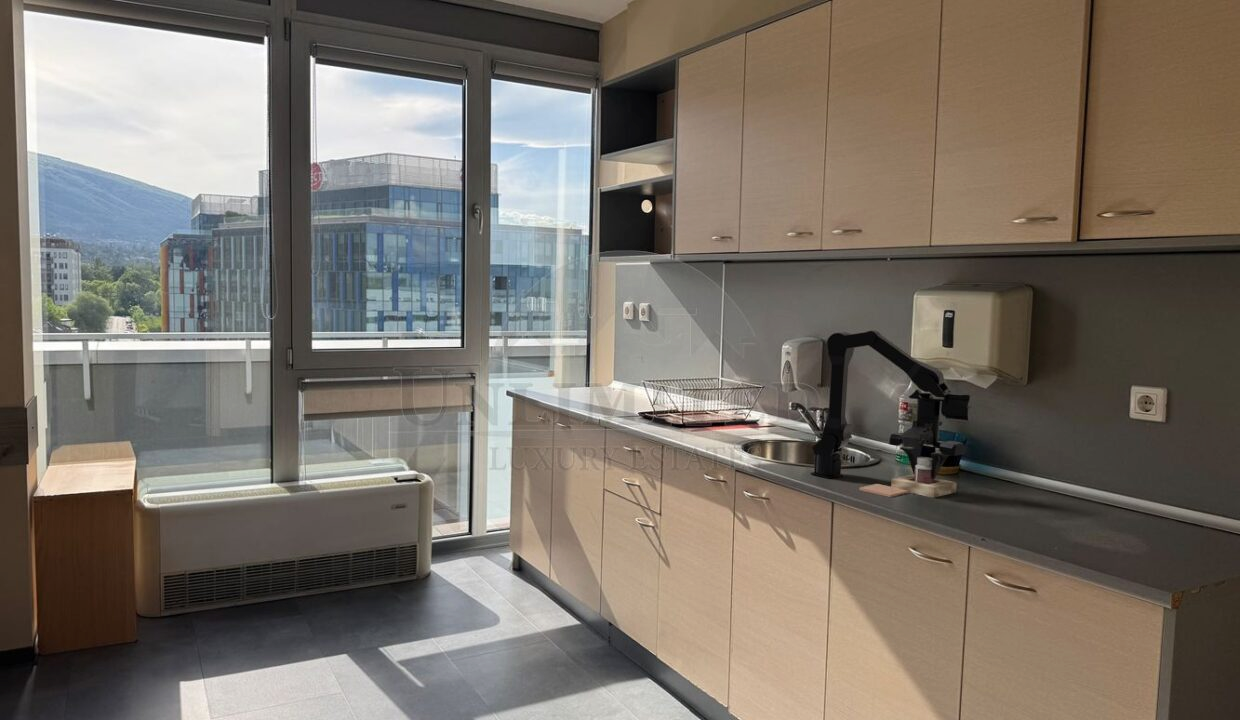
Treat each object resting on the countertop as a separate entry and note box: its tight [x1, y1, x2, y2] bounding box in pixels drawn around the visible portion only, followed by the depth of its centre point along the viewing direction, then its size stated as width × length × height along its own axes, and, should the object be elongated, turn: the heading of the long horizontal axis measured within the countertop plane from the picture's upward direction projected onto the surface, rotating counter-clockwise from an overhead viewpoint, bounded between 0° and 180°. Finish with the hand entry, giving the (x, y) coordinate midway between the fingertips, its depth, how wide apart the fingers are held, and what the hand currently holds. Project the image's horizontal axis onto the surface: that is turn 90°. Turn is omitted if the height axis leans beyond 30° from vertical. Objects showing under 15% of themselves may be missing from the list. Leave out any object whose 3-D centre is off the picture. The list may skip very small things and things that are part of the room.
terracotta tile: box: [859, 483, 909, 498], centre depth 216 cm, size 9×8×1 cm
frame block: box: [890, 473, 957, 498], centre depth 219 cm, size 12×11×2 cm
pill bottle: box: [914, 456, 934, 484], centre depth 219 cm, size 5×5×8 cm
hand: (924, 476), depth 219 cm, fingers closed on pill bottle, 5 cm apart
